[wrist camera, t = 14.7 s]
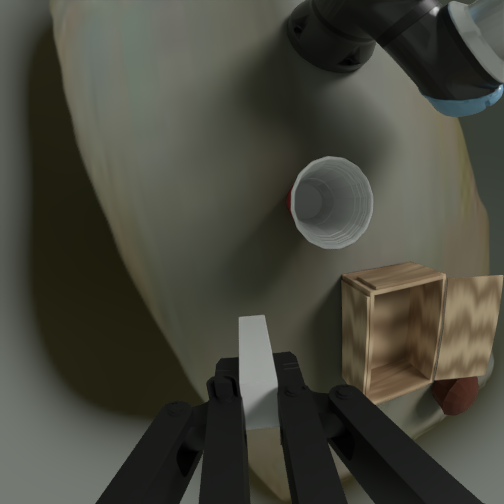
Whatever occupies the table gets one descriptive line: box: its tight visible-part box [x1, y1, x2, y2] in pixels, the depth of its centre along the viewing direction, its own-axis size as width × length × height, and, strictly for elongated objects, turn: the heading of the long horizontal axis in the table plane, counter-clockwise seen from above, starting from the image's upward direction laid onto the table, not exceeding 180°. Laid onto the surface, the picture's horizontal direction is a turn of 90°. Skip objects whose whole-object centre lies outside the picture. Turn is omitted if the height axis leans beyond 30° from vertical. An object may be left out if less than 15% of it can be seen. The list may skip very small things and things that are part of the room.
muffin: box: [432, 376, 479, 415], centre depth 51 cm, size 12×11×10 cm
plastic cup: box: [287, 156, 373, 249], centre depth 39 cm, size 11×11×12 cm
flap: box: [434, 275, 503, 380], centre depth 38 cm, size 19×1×10 cm
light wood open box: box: [341, 262, 446, 405], centre depth 45 cm, size 21×14×10 cm
